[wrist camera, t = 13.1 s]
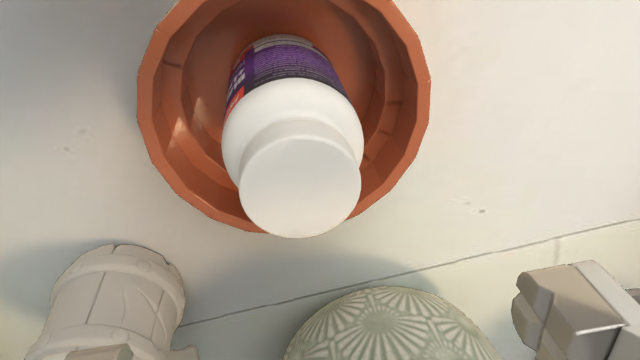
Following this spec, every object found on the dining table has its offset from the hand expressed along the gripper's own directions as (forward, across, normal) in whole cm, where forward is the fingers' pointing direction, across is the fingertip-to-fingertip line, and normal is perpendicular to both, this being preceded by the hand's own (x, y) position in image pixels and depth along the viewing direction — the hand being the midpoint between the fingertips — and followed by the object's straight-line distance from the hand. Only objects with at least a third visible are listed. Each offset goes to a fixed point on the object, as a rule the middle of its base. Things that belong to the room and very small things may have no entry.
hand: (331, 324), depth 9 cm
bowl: (+16, 0, 0) cm, 16 cm away
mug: (+16, +11, +14) cm, 24 cm away
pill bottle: (+15, 0, 0) cm, 16 cm away
